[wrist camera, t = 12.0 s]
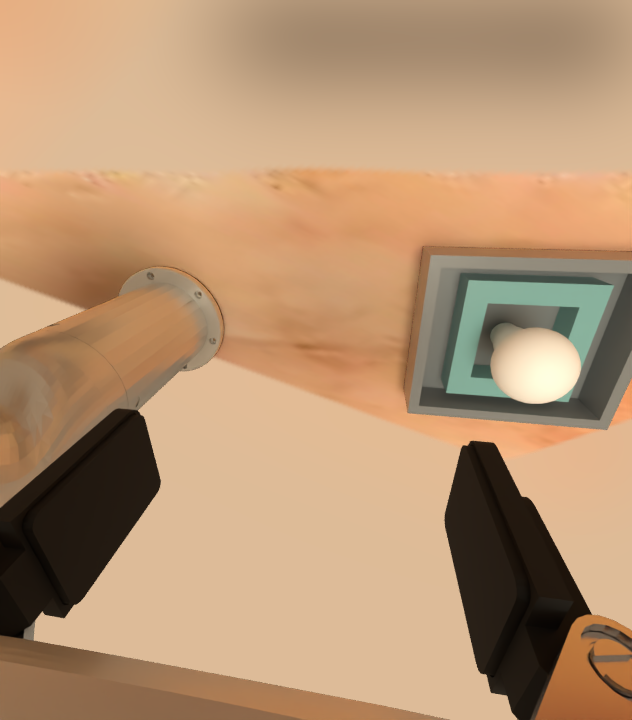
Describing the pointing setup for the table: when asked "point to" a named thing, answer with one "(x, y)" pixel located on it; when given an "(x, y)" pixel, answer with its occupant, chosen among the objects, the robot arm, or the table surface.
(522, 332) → the lightbulb
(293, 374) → the table surface
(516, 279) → the open box
